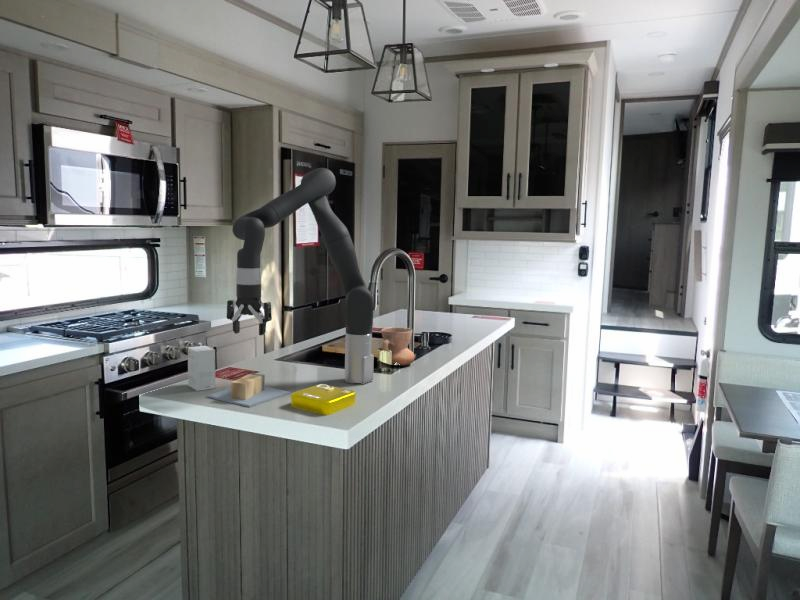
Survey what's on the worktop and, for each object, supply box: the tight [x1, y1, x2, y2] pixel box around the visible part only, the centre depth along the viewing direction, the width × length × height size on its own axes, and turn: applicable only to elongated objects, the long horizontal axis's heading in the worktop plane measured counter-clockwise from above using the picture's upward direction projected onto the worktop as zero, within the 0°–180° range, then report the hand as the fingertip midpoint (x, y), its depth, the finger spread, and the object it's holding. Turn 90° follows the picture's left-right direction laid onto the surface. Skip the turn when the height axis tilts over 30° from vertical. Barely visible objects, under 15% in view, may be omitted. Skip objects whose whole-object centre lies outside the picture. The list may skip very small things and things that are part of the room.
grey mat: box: [206, 385, 291, 408], centre depth 187 cm, size 18×18×1 cm
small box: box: [187, 345, 216, 392], centre depth 194 cm, size 8×6×13 cm
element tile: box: [290, 383, 356, 416], centre depth 180 cm, size 15×15×5 cm
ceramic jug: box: [378, 326, 416, 367], centre depth 235 cm, size 18×14×14 cm
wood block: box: [230, 373, 266, 400], centre depth 186 cm, size 5×5×12 cm
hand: (249, 334), depth 185 cm, fingers open, 8 cm apart
